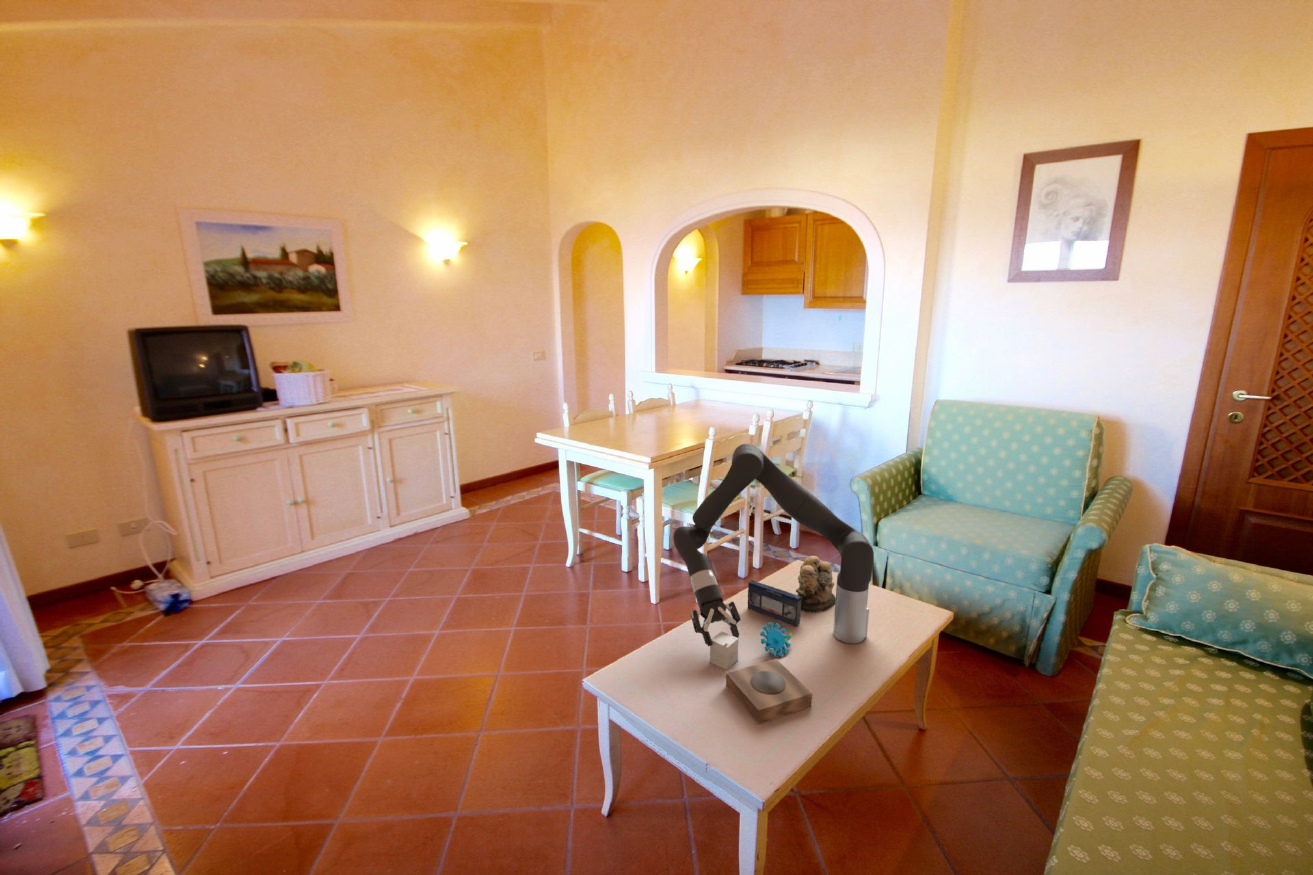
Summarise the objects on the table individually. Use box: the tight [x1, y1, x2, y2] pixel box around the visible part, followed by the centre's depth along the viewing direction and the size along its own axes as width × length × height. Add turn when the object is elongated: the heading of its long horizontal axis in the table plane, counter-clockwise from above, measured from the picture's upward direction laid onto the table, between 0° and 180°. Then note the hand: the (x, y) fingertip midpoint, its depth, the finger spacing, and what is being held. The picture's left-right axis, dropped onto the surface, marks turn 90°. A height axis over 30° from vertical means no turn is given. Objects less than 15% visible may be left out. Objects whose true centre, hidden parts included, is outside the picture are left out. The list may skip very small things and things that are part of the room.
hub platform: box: [725, 658, 813, 725], centre depth 154 cm, size 16×16×4 cm
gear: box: [759, 622, 793, 658], centre depth 175 cm, size 11×6×10 cm
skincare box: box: [709, 630, 739, 670], centre depth 168 cm, size 6×6×7 cm
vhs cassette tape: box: [747, 579, 802, 628], centre depth 192 cm, size 18×3×10 cm, turn 49°
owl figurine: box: [795, 555, 836, 613], centre depth 200 cm, size 18×12×17 cm, turn 130°
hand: (723, 642), depth 168 cm, fingers open, 8 cm apart
